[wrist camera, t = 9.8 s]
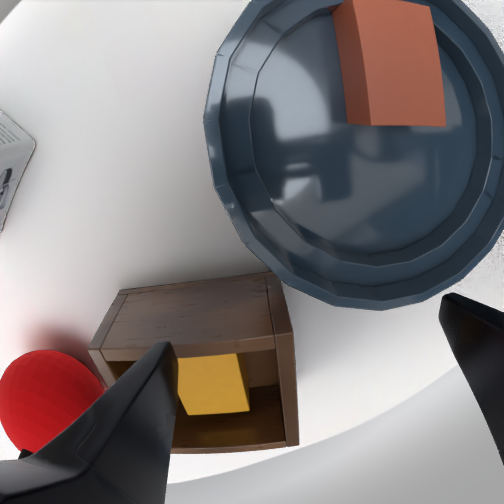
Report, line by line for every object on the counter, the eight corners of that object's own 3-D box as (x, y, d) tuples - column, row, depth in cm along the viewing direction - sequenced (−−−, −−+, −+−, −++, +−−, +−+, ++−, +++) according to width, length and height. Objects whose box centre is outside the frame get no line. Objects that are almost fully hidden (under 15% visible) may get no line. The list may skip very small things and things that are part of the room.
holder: (278, 269, 18) (293, 332, 13) (288, 383, 22) (299, 445, 16) (119, 289, 18) (85, 349, 13) (163, 394, 22) (152, 453, 17)
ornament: (130, 352, 20) (89, 474, 11) (120, 417, 23) (95, 511, 14) (24, 307, 18) (-47, 401, 9) (33, 380, 22) (-9, 462, 12)
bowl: (473, 12, 11) (507, 4, 8) (479, 255, 18) (508, 278, 15) (193, -8, 11) (182, -36, 8) (239, 296, 18) (240, 333, 15)
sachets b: (400, 19, 11) (429, 6, 9) (414, 123, 14) (446, 127, 11) (331, 12, 12) (351, -7, 9) (347, 123, 14) (370, 125, 11)
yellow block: (234, 307, 18) (233, 341, 15) (248, 377, 20) (250, 411, 18) (167, 314, 18) (157, 348, 15) (192, 382, 20) (187, 415, 18)
